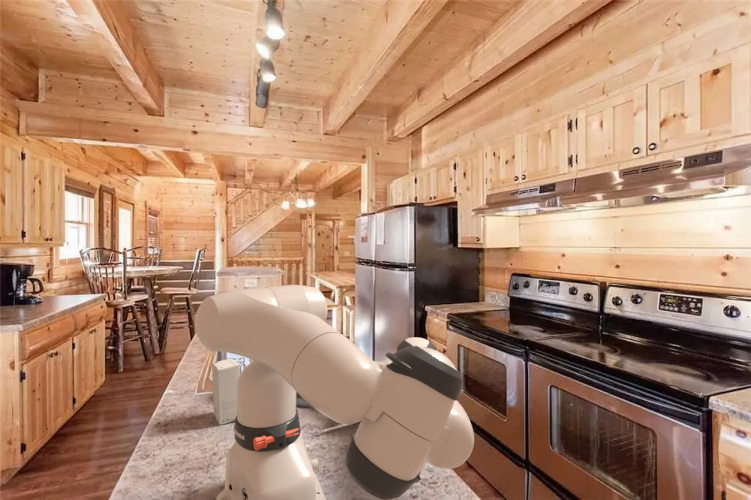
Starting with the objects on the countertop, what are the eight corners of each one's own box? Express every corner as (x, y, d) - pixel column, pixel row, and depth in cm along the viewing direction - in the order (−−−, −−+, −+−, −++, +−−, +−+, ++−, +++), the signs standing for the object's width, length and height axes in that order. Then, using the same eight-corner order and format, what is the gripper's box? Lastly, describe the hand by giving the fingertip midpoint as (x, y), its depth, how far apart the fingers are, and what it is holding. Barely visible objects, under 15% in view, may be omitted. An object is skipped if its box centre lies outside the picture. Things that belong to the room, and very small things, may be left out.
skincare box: (241, 420, 101) (241, 365, 101) (217, 426, 98) (217, 369, 97) (234, 408, 108) (234, 357, 108) (211, 414, 105) (211, 360, 104)
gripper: (382, 408, 95) (331, 401, 99) (399, 380, 114) (356, 375, 118) (382, 383, 95) (331, 377, 99) (399, 359, 114) (356, 355, 118)
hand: (345, 376), depth 109 cm, fingers open, 8 cm apart
